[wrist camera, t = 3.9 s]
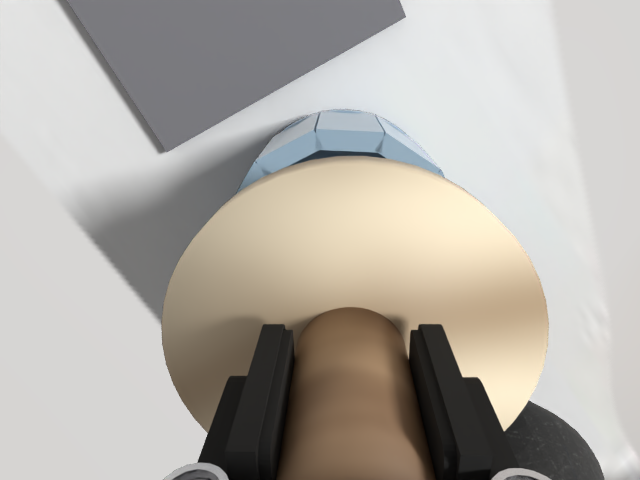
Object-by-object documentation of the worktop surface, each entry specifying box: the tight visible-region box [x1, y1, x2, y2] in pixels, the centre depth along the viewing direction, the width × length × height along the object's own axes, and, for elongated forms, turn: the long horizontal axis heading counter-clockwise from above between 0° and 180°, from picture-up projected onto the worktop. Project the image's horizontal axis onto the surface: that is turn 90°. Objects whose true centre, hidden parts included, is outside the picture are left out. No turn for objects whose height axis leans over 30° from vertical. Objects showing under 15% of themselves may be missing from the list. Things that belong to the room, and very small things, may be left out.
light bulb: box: [504, 400, 604, 480], centre depth 20 cm, size 6×6×10 cm
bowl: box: [235, 109, 445, 195], centre depth 19 cm, size 9×9×6 cm
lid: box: [161, 156, 549, 480], centre depth 10 cm, size 10×10×6 cm
